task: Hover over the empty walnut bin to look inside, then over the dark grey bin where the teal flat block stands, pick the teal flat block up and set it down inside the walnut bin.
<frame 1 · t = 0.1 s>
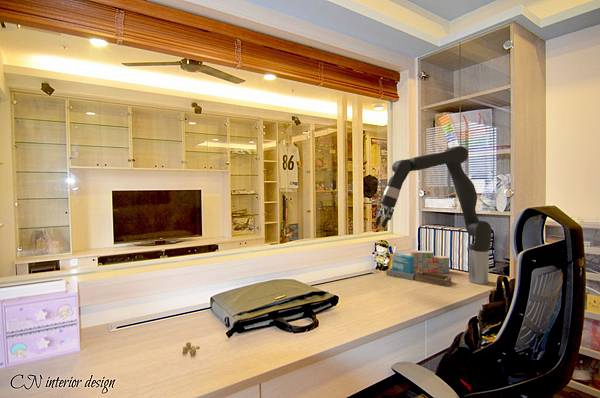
hand: (379, 226, 162), 31 cm above the table, tool tilted 20°, fingers open, 8 cm apart
stack of blocks: (429, 271, 193), on the table
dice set: (190, 352, 99), on the table
grey bin: (403, 275, 184), on the table
walnut bin: (432, 281, 172), on the table
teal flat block: (403, 276, 184), resting in grey bin
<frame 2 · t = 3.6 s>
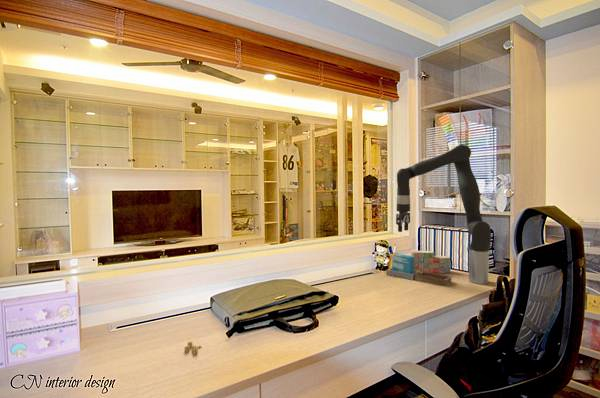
hand: (403, 231, 183), 26 cm above the table, tool pointing down, fingers open, 8 cm apart
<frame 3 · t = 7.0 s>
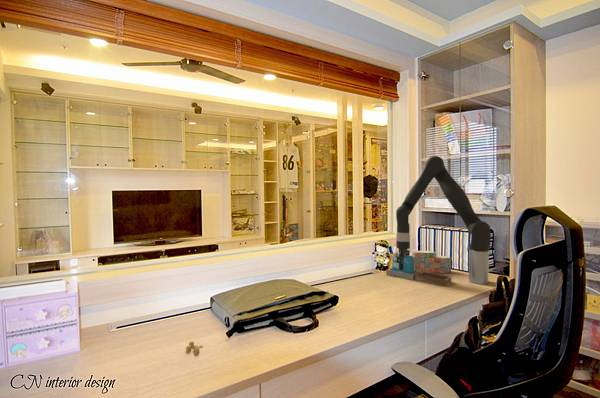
hand: (402, 268, 183), 4 cm above the table, tool pointing down, fingers closed on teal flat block, 5 cm apart
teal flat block: (402, 276, 184), resting in grey bin, touching gripper
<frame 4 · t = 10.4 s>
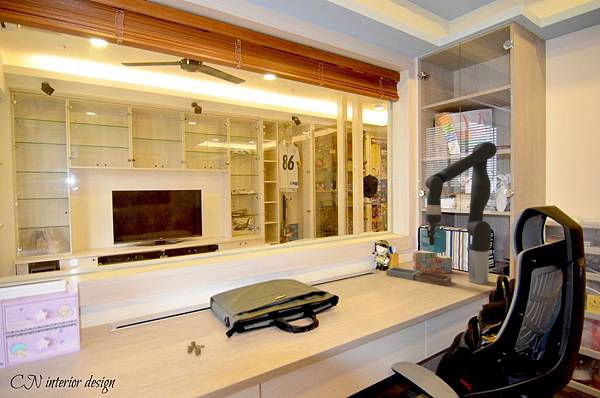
hand: (433, 244, 172), 20 cm above the table, tool pointing down, fingers closed on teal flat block, 5 cm apart
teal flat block: (433, 251, 172), point 16 cm above the table, touching gripper
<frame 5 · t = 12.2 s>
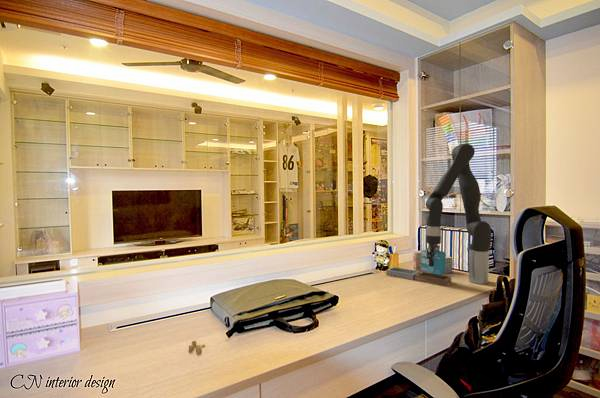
hand: (432, 265, 172), 9 cm above the table, tool pointing down, fingers closed on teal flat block, 5 cm apart
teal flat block: (432, 272, 172), point 5 cm above the table, touching gripper
when the fingers open (5 cm above the table, at t = 13.8 s): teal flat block drops 1 cm, resting in walnut bin.
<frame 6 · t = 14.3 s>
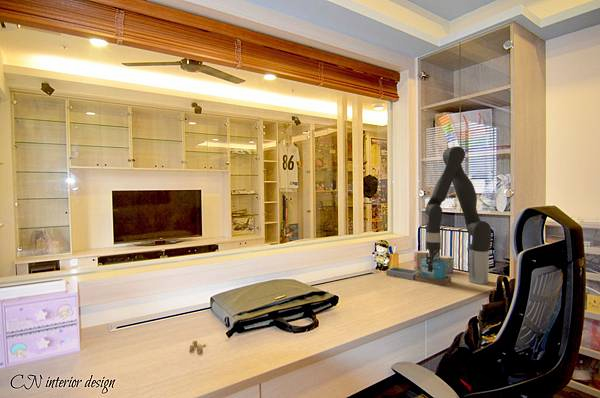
hand: (433, 270, 172), 6 cm above the table, tool pointing down, fingers open, 8 cm apart
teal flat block: (433, 281, 172), resting in walnut bin
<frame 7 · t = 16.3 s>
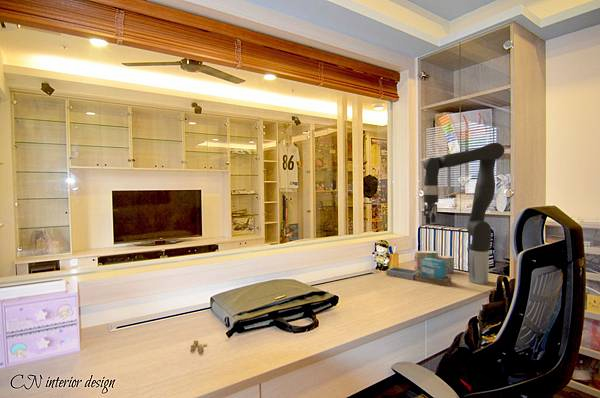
hand: (430, 223, 175), 32 cm above the table, tool pointing down, fingers open, 8 cm apart
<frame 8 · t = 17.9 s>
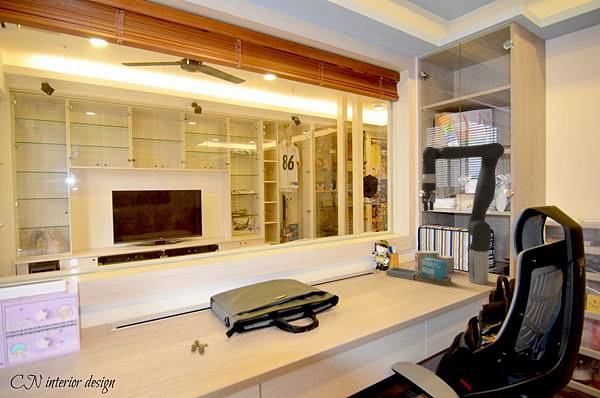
hand: (428, 210, 180), 38 cm above the table, tool pointing down, fingers open, 8 cm apart
at the end: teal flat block inside the target area (0.1 cm from its centre), resting in walnut bin; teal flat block tilted 0°; the gripper is holding nothing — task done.
